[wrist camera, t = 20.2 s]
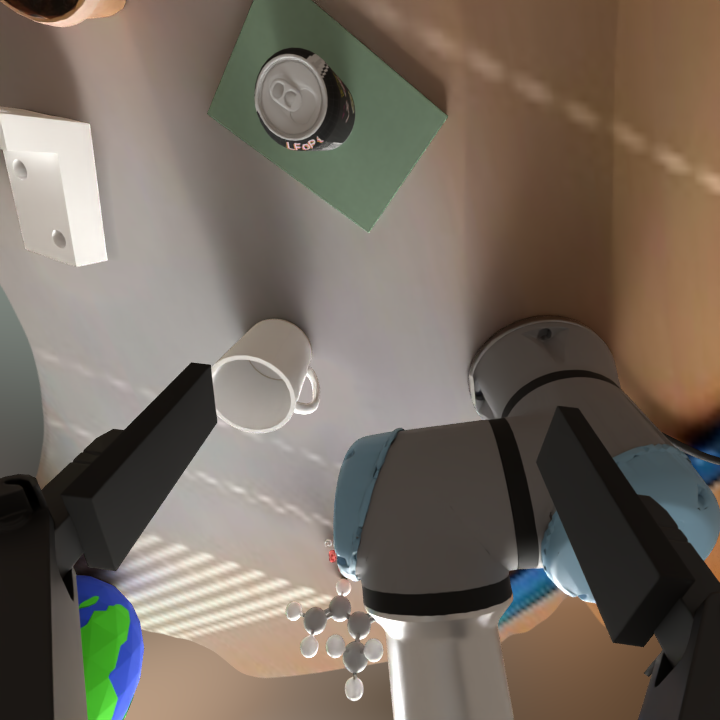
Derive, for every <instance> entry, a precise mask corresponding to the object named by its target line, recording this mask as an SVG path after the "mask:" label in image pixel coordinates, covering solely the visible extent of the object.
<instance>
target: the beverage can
mask: <svg viewBox="0 0 720 720" xmlns="http://www.w3.org/2000/svg"><path fill="white" fill-rule="evenodd" d="M254 98H255V107H256V112H257V115H258V117H259V120H260V123H261V124H262V126H263V128H264V129H265V131H266V132H267V134H268V135H269V136H270V137H271V138H272V139H273V140H274V141H275V142H277V143H278V144H279V145H281V146H283V147H285V148H287V149H291V150H294V151H327V150H332V149H335V148H337V147H339V146H340V145H341V144H343V143H344V142H345V141H346V140H347V138H348V137H349V135H350V134H351V131H352V129H353V126H354V122H355V104H354V101H353V97H352V95H351V93H350V91H349V89H348V88H347V86H346V85H345V84H344V83H343V81H342V80H341V79H340V78H339V77H338V76H337V75H336V73H335V72H334V71H333V70H332V69H331V68H330V67H329V65H328V64H327V63H326V62H325V61H324V60H323V59H322V58H320V57H319V56H318V55H316V54H315V53H313V52H311V51H309V50H306V49H303V48H293V47H291V48H286V49H282V50H280V51H278V52H276V53H275V54H273V55H272V56H271V57H270V58H268V59H267V61H266V62H265V63H264V65H263V66H262V68H261V70H260V72H259V74H258V76H257V80H256V83H255V92H254Z"/></svg>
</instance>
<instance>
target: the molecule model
mask: <svg viewBox="0 0 720 720" xmlns="http://www.w3.org/2000/svg"><path fill="white" fill-rule="evenodd" d="M327 542H329V543H330V544H327ZM325 546H326V547H331V546H332V541H331V540H329V539H327V540H326V541H325ZM333 546H334V541H333ZM333 554H334V555H333ZM329 557H330V558H329V561H330V562H335V561H336V553H335V550H331V551H330V552H329ZM332 558H333V559H332ZM338 571H340V570H339V567H338ZM350 590H351V584H350V582H349V581H348V580H347V579H340V580H339V581H338V582H337V584H336V591H337V593H338V594H339V595H340V596H336V597H334V598H333V599H332V600H331V602H330V605H329V608H328V609H326V610H324V611H323V610H322V609H321V608H318V607H314V608H311V609H309V610H308V611H307V612H306V614H304V613H302V607H301V605H300V603H299V602H296V601H293V602H290V603H289V604H288V605H287V607H286V616H287V618H288V619H290V620H297V619H298V618H299V617H300V616H302V617H304V627H305V629H306V631H307V632H308V633H310V636H306V637H305V638H304V639H303V640H302V642H301V646H300V649H301V653H302V654H303V656H305V657H307V658H310V657H313V656H314V655H315V654H316V653H317V651H318V641H317V639H316V638H315V637H314V635H317V634H319V633H321V632H322V631H323V630H324V628H325V626H326V623H327V619H329V618H331V617H332V618H333V619H334V620H335V621H338V622H341V621H344V620H346V619H348V624H347V627H348V631H349V633H350V635H351V636H352V637H353V638H355V641H354V642H351V643H349V644H348V645H347V646H346V647H345V642H344V640H343V638H342V637H341V636H340V635H336V634H335V635H332V636H330V637H329V638H328V640H327V642H326V651H327V653H328V655H329V656H331V657H333V658H338V657H340V656H341V655H342V654H343V663H344V665H345V667H346V668H347V670H349V671H350V672H352V673H353V677H351V678H350V679H348V681H347V682H346V685H345V693H346V695H347V697H348V698H349V699H350V700H352V701H356V700H358V699H360V698H361V696H362V694H363V683H362V681H361V680H360V679H359V678H357V677H356V674H357V673H358V672H360V671H362V670H363V669H364V668H365V666H366V665H367V662H368V660H369V661H371V662H377V661H379V660H380V659H381V657H382V655H383V646H382V644H381V642H380V641H379V640H378V639H375V638H372V639H369V640H368V641H367V642H366V644H365V646H364V645H363V644H362V643H360V639H363V638H365V637H366V636H367V635H368V633H369V632H370V628H371V623H372V622H374V621H376V620H375V619H374V618H373V617H372V616H371V615H370V614H369V613H368V614H365V613H364V612H360V611H358V612H355V613H353V614H352V615H350V612H351V605H350V602H349V600H348V599H347V598H346V597H344V596H346V595H347V594H349V592H350ZM326 614H327V615H326ZM370 617H371V618H370ZM376 622H377V621H376ZM377 623H378V622H377Z"/></svg>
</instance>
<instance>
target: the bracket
mask: <svg viewBox="0 0 720 720" xmlns="http://www.w3.org/2000/svg"><path fill="white" fill-rule="evenodd" d="M0 149H3V153H4V157H5V162H6V166H7V171H8V175H9V180H10V184H11V188H12V193H13V197H14V202H15V206H16V210H17V215H18V219H19V224H20V228H21V232H22V237H23V241H24V246H25V250H28V251H31V252H34V253H37V254H40V255H43V256H46V257H49V258H52V259H55V260H57V261H60V262H63V263H66V264H69V265H72V266H75V267H79V266H84V265H89V264H93V263H98V262H103V261H108V260H107V253H106V245H105V237H104V229H103V222H102V214H101V206H100V198H99V191H98V183H97V175H96V167H95V160H94V152H93V144H92V136H91V129H90V124H89V123H85V122H80V121H76V120H72V119H67V118H63V117H57V116H50V115H46V114H41V113H37V112H33V111H29V110H24V109H17V108H10V107H2V106H0Z"/></svg>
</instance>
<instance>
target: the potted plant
mask: <svg viewBox="0 0 720 720" xmlns="http://www.w3.org/2000/svg"><path fill="white" fill-rule="evenodd" d="M0 2H2V3H3V4H5V5H6V6H7V7H9V8H10V9H12V10H13V11H15V12H16V13H18V14H20V15H22V16H24V17H26V18H28V19H31V20H33V21H36V22H39V23H42V24H47V25H52V26H58V27H68V26H73V25H76V24H79V23H81V22H82V21H83V20H85V19H88V18H99V17H109V16H111V15H114V14H116V13H117V12H119V11H120V10H121V9H123V8H124V5H125V3H126V0H0Z"/></svg>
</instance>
